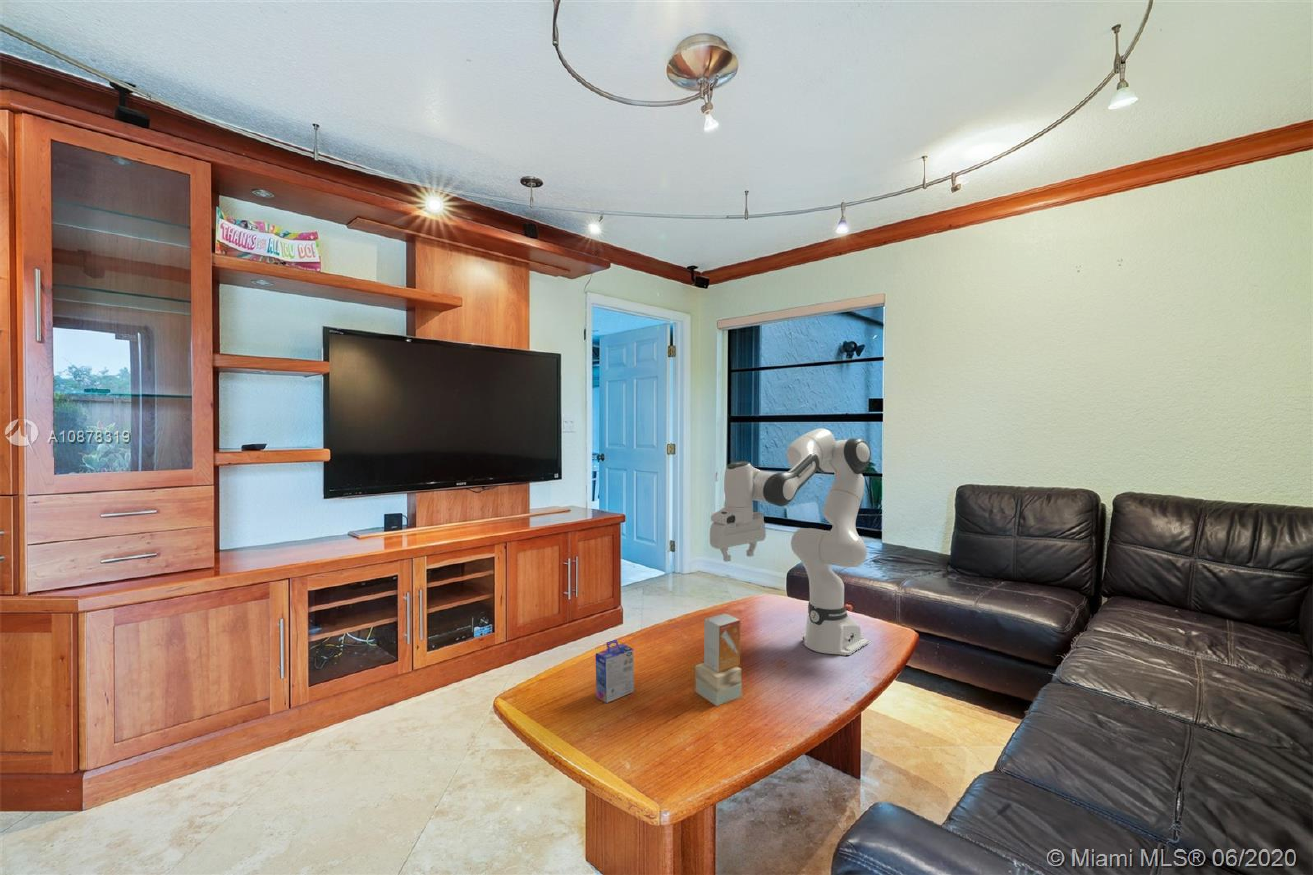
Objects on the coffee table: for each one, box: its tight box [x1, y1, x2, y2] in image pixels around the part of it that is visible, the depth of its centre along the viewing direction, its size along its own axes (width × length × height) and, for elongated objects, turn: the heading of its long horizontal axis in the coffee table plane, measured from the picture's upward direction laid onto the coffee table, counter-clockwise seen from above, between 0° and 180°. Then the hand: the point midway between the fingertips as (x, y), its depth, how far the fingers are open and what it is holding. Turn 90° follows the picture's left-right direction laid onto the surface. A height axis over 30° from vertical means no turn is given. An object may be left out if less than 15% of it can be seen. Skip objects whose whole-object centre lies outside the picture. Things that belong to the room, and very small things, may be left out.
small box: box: [703, 612, 741, 672], centre depth 153 cm, size 8×6×13 cm
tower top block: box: [694, 662, 742, 692], centre depth 152 cm, size 9×9×4 cm
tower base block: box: [695, 680, 743, 707], centre depth 152 cm, size 9×9×4 cm
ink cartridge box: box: [595, 639, 635, 704], centre depth 151 cm, size 10×6×14 cm, turn 132°
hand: (738, 558), depth 170 cm, fingers open, 8 cm apart
